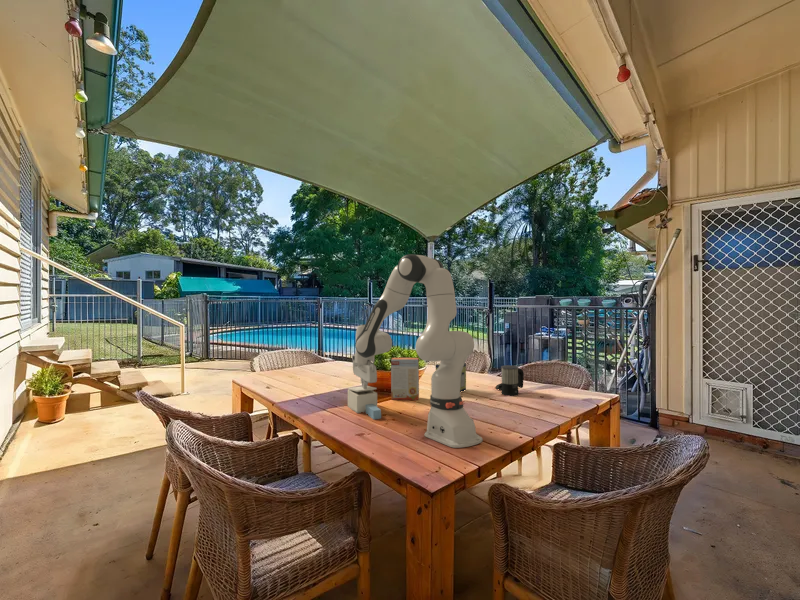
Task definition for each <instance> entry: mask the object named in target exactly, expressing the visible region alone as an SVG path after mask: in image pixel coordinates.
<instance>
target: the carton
mask: <svg viewBox="0 0 800 600" xmlns="http://www.w3.org/2000/svg"><path fill="white" fill-rule="evenodd" d="M368 404H374V405H375V406H377V407H378V392H376V391H374V390H367V391H359V392H356V391H353V390H349V389H347V408H349V409H350V410H352V411H353V412H355V413H356V414H361V412H363V413H366V405H368Z"/></svg>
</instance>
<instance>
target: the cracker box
mask: <svg viewBox="0 0 800 600" xmlns="http://www.w3.org/2000/svg"><path fill="white" fill-rule="evenodd" d="M390 359H391V360H390V384H391V388H390V389H391V390H390V391H391V392H390V393H391V394H390V395H391V396H390V397H391V400H392V401H393V400H397V401H399V400H400V401H401V400H402V401H403V400H404V401H406V400H407V401H418V400H419V398H420V374H419V373H420V372H419V363H420V358H419V357H392V358H390Z"/></svg>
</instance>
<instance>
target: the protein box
mask: <svg viewBox="0 0 800 600" xmlns="http://www.w3.org/2000/svg"><path fill="white" fill-rule="evenodd" d="M439 366H440V363H437V364H435V371H436V370H437V369H438V367H439ZM464 390H466V391H467V363H466V362H465V364H464V366H463V369H462V373H461V381H460V392H461V391H464ZM464 392H465V391H464ZM461 393H462V392H461Z"/></svg>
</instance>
